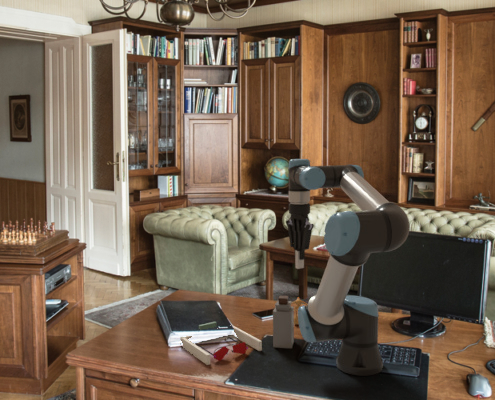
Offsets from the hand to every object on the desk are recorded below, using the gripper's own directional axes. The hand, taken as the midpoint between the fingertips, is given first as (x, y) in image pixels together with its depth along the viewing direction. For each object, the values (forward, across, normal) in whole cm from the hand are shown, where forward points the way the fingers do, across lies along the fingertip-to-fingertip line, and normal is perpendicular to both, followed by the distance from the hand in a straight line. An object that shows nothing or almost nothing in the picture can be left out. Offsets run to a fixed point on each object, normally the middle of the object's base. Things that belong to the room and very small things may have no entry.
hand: (299, 267), depth 199 cm
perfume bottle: (+30, +5, +4) cm, 30 cm away
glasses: (+30, +14, +26) cm, 42 cm away
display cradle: (+29, +16, +24) cm, 41 cm away
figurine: (+30, +18, -14) cm, 37 cm away
